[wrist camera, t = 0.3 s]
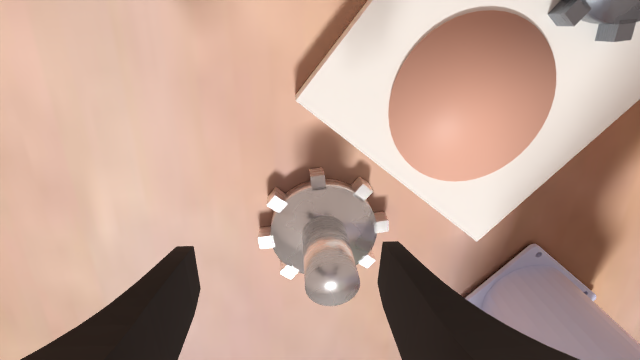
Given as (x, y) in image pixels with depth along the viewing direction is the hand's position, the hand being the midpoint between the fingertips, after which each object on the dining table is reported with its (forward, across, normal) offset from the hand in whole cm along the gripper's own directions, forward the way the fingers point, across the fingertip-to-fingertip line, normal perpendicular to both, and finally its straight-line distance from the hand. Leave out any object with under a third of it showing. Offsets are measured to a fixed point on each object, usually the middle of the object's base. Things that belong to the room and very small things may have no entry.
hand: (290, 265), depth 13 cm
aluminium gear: (+10, -2, +4) cm, 11 cm away
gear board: (+10, -13, -8) cm, 18 cm away
